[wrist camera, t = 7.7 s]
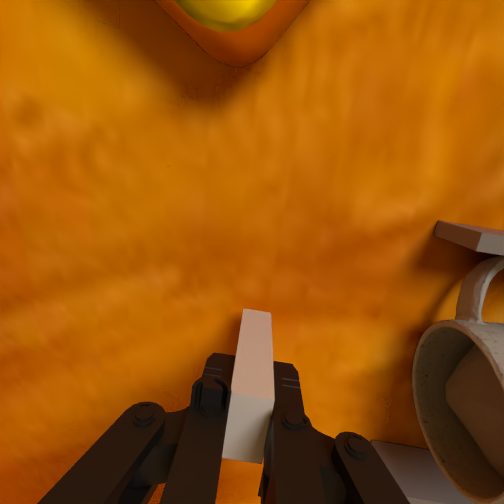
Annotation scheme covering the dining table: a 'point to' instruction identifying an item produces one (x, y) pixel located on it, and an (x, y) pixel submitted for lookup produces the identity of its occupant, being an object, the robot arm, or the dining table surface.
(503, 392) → the ceramic mug
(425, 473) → the box
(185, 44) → the dining table surface
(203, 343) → the dining table surface
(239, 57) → the element tile
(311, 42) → the dining table surface
